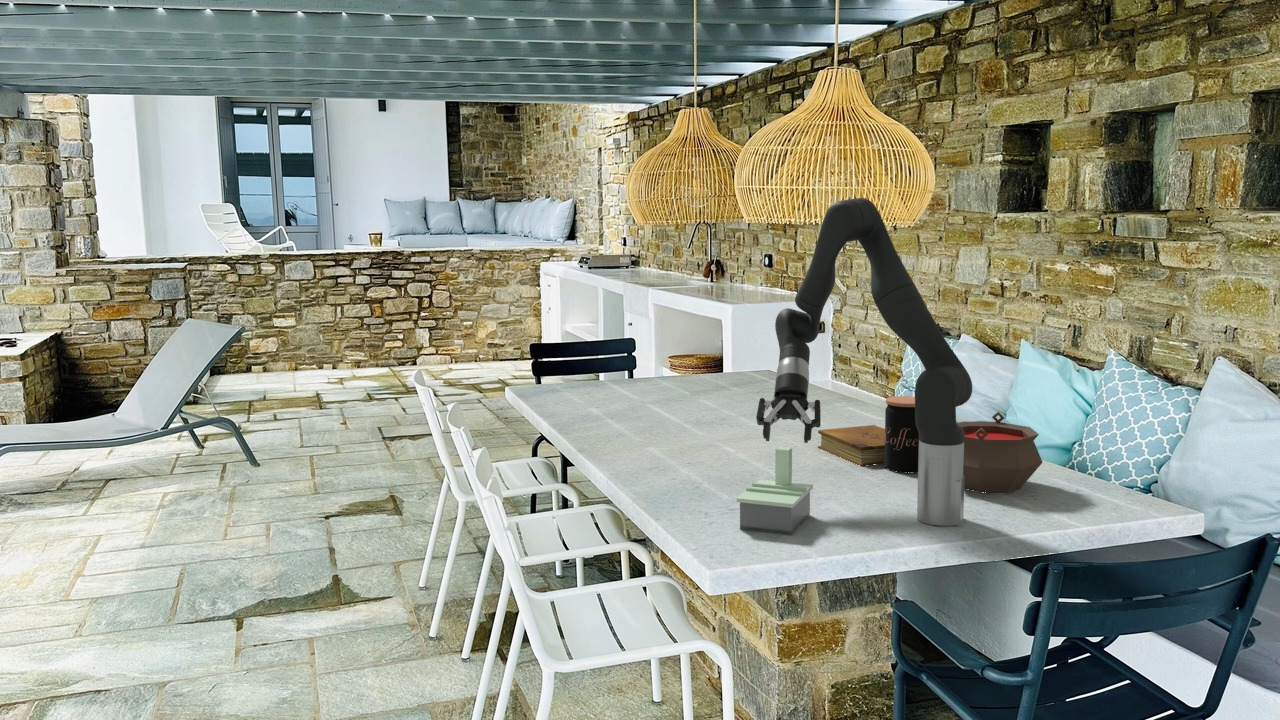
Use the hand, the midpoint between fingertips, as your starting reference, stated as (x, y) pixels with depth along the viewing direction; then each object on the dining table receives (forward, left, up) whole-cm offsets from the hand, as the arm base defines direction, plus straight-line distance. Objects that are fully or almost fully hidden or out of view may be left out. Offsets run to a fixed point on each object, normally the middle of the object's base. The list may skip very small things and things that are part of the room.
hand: (786, 440), depth 224 cm
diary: (-7, -58, -16) cm, 60 cm away
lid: (-1, +11, -9) cm, 15 cm away
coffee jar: (-19, -45, -16) cm, 51 cm away
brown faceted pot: (-40, -35, -16) cm, 55 cm away
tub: (-1, +11, -15) cm, 19 cm away
